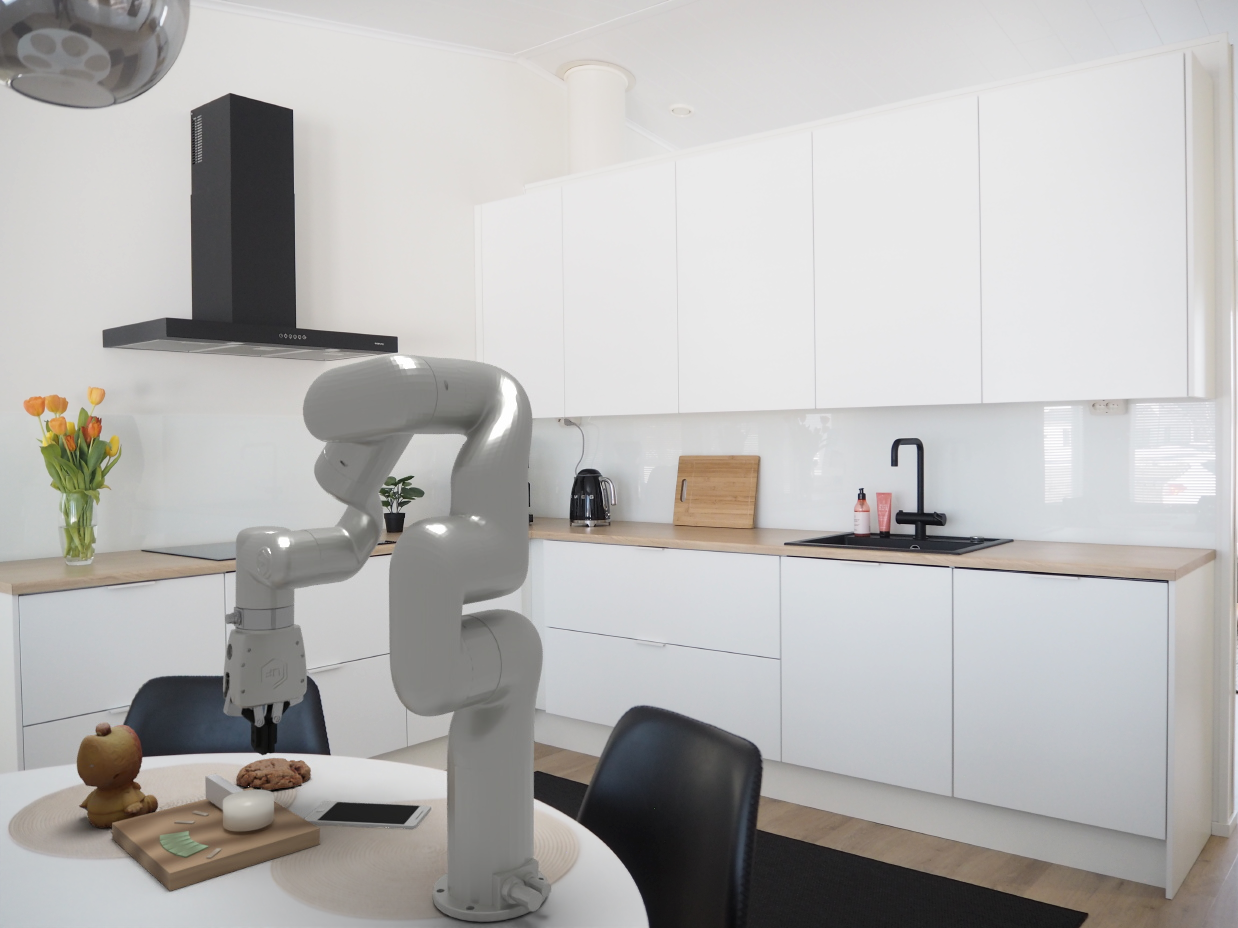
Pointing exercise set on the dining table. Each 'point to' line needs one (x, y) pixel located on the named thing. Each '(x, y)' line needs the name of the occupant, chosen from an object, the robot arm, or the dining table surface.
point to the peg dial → (240, 804)
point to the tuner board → (207, 842)
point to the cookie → (274, 774)
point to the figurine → (113, 775)
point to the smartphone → (368, 814)
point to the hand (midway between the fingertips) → (263, 751)
